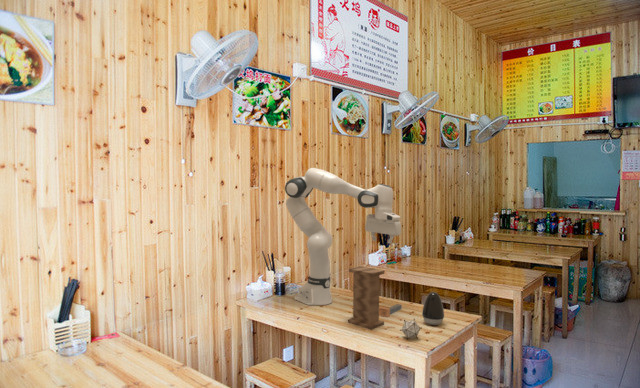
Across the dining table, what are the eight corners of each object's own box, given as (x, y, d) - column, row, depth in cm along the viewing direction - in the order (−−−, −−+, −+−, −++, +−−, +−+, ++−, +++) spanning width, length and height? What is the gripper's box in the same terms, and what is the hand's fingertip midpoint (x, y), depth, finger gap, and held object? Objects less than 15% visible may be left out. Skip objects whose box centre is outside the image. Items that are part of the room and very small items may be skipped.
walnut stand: (347, 322, 207) (348, 269, 206) (360, 317, 215) (361, 265, 214) (371, 330, 198) (372, 273, 197) (383, 324, 205) (384, 270, 204)
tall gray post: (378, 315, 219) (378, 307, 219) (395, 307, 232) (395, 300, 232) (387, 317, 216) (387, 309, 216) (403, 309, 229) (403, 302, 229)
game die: (414, 347, 188) (422, 334, 181) (395, 339, 189) (403, 326, 183) (418, 332, 194) (425, 318, 188) (400, 323, 196) (407, 310, 190)
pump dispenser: (420, 325, 205) (421, 293, 204) (423, 318, 215) (424, 288, 214) (443, 328, 201) (443, 296, 201) (444, 321, 211) (445, 290, 210)
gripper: (363, 213, 228) (362, 239, 229) (396, 217, 215) (395, 245, 215) (370, 213, 233) (368, 238, 234) (403, 217, 220) (401, 244, 220)
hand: (381, 242), depth 224 cm, fingers open, 8 cm apart
